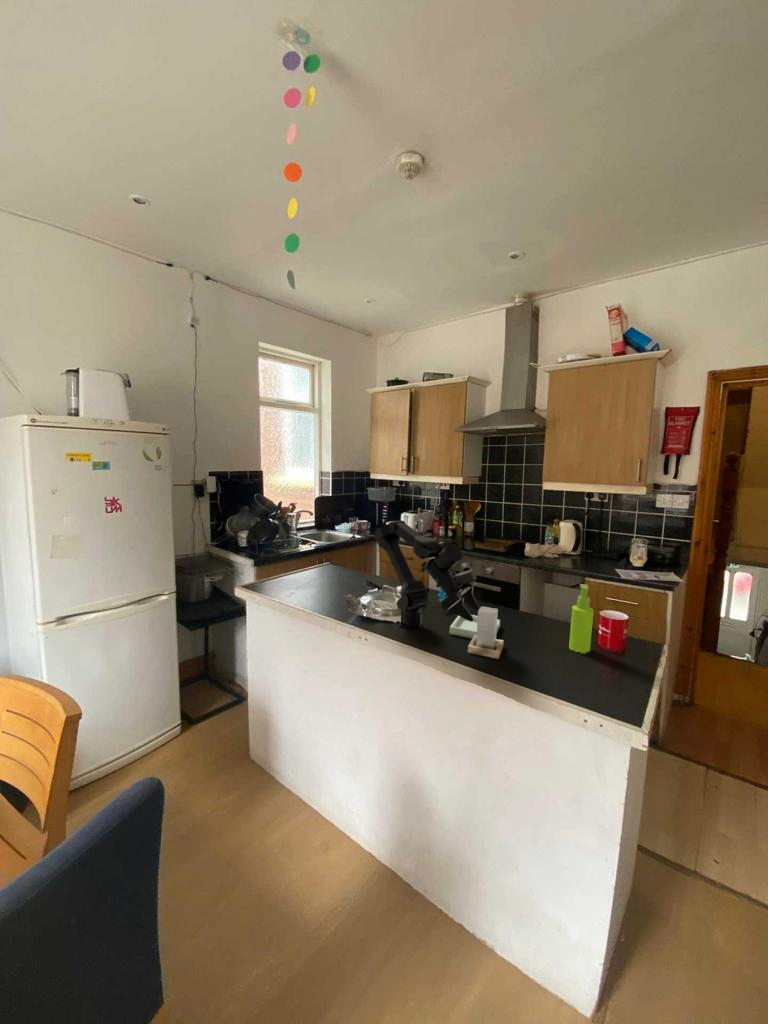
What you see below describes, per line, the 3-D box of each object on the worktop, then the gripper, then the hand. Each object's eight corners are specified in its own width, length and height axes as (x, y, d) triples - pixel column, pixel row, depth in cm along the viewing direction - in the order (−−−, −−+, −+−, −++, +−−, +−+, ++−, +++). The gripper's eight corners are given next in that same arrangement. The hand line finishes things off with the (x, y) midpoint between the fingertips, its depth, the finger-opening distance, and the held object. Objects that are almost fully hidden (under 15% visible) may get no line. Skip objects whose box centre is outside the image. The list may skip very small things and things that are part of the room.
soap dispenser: (588, 645, 134) (593, 583, 131) (591, 654, 127) (596, 590, 125) (567, 642, 136) (572, 581, 133) (569, 651, 129) (575, 587, 126)
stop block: (475, 651, 128) (477, 611, 126) (479, 644, 132) (481, 606, 131) (492, 654, 126) (495, 614, 124) (495, 648, 130) (497, 608, 129)
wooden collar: (467, 652, 127) (468, 646, 127) (474, 640, 135) (474, 634, 135) (498, 658, 123) (498, 652, 123) (503, 646, 131) (503, 640, 131)
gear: (446, 611, 156) (436, 587, 162) (437, 618, 160) (427, 595, 165) (467, 609, 163) (456, 586, 168) (458, 616, 166) (448, 594, 172)
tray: (449, 634, 140) (449, 626, 139) (459, 619, 152) (460, 613, 152) (492, 642, 134) (493, 634, 134) (499, 626, 147) (500, 619, 147)
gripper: (452, 566, 121) (489, 610, 118) (468, 553, 138) (501, 591, 134) (425, 589, 125) (460, 632, 122) (443, 574, 142) (475, 611, 139)
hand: (475, 615), depth 129 cm, fingers open, 9 cm apart
